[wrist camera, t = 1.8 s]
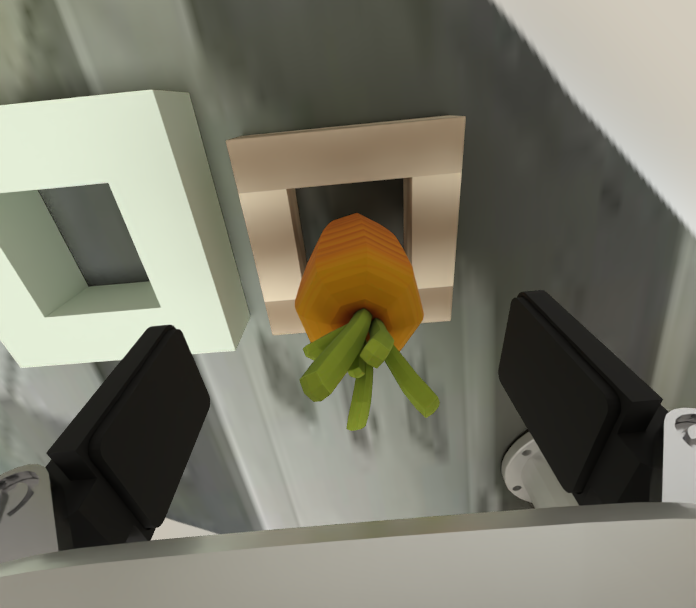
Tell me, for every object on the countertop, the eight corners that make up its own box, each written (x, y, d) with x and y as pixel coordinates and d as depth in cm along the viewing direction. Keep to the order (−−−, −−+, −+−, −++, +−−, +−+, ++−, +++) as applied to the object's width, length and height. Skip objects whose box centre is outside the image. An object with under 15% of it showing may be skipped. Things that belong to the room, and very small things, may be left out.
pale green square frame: (250, 316, 25) (235, 350, 21) (64, 332, 25) (21, 367, 22) (188, 92, 18) (152, 89, 14) (-66, 119, 18) (-161, 122, 15)
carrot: (406, 231, 22) (501, 411, 9) (348, 276, 23) (355, 486, 10) (357, 168, 20) (387, 283, 7) (297, 222, 22) (229, 399, 9)
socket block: (439, 298, 24) (450, 320, 22) (280, 311, 25) (272, 335, 22) (448, 115, 19) (465, 116, 16) (241, 135, 19) (225, 140, 16)
